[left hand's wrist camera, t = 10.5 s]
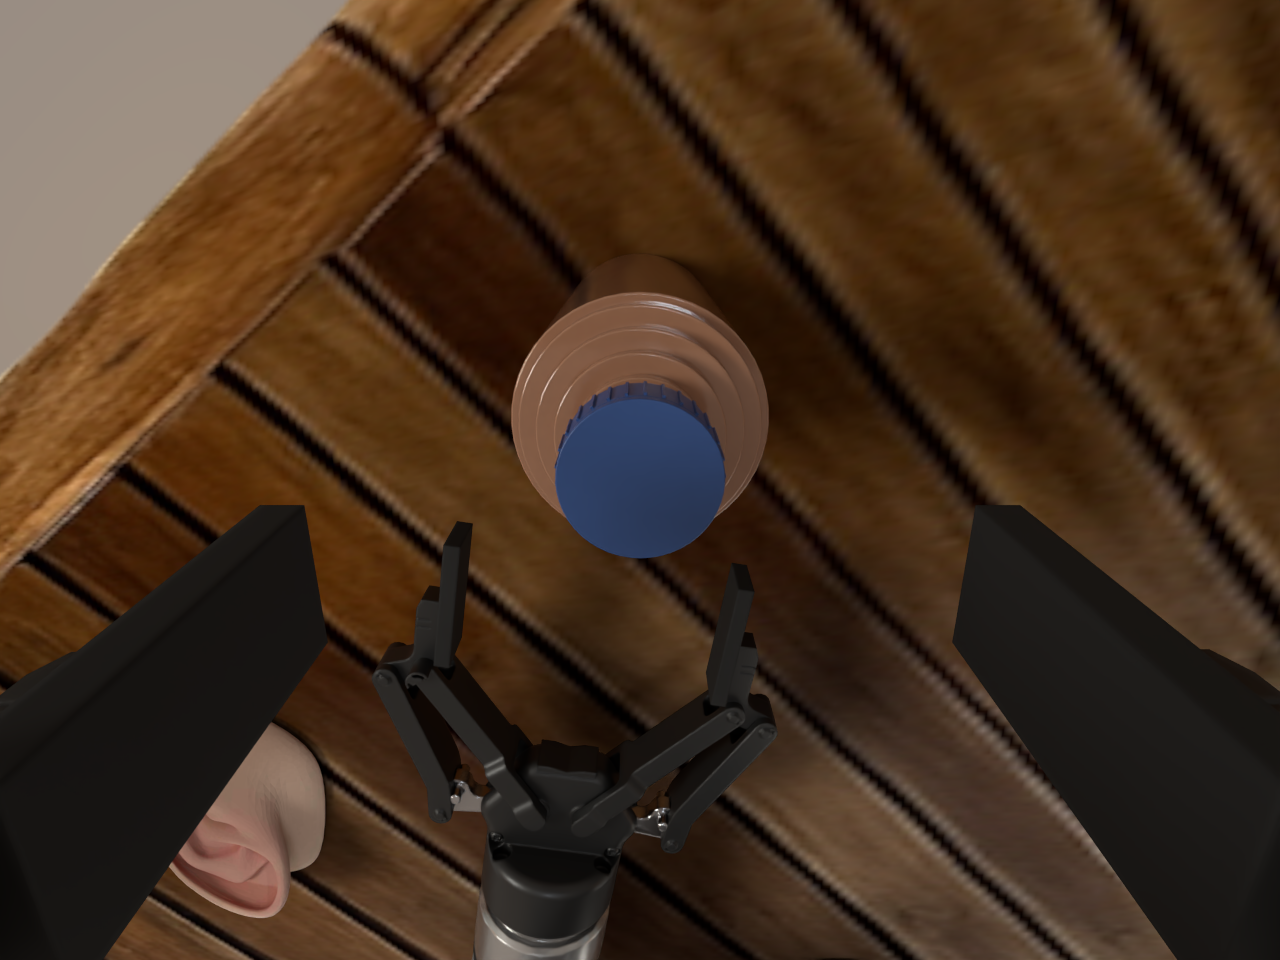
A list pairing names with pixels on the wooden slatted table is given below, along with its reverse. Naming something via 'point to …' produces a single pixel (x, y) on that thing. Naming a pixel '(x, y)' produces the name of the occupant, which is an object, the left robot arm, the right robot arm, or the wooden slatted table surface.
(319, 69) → the wooden slatted table surface
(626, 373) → the bottle
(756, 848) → the wooden slatted table surface
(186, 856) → the anatomical model
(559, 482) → the cap
